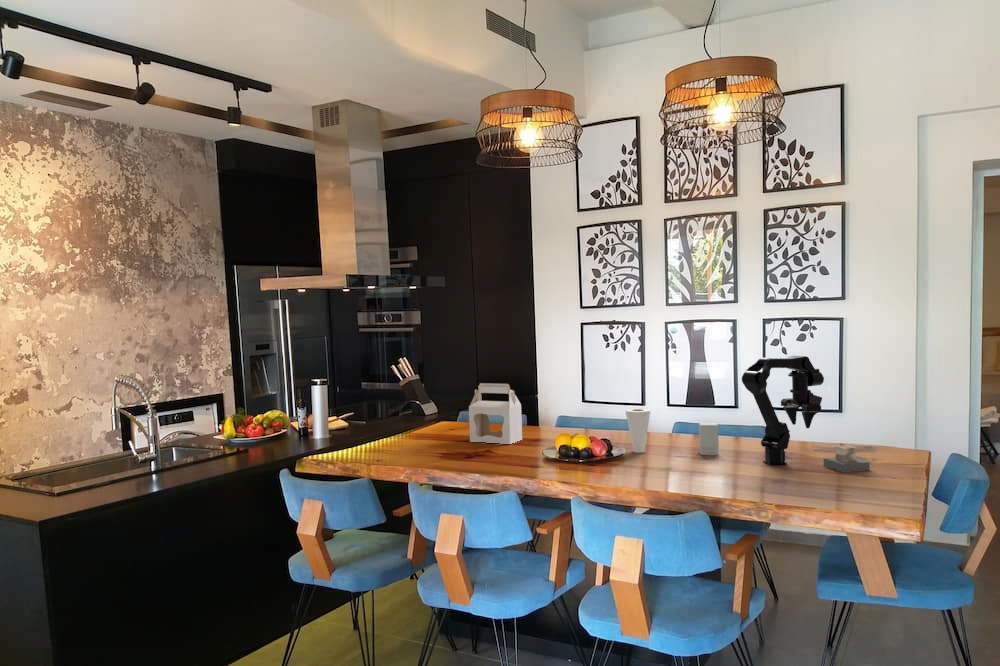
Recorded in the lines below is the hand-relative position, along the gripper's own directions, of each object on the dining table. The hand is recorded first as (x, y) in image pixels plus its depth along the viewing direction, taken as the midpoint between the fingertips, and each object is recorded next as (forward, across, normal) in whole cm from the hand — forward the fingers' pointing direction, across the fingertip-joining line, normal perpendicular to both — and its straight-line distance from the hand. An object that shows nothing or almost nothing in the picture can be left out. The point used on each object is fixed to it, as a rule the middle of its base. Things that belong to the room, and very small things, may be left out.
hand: (800, 426), depth 280 cm
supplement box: (+13, +21, +29) cm, 38 cm away
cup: (+13, +34, +55) cm, 66 cm away
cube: (+10, -19, -6) cm, 22 cm away
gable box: (+13, +79, +110) cm, 136 cm away
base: (+13, -19, -6) cm, 24 cm away
